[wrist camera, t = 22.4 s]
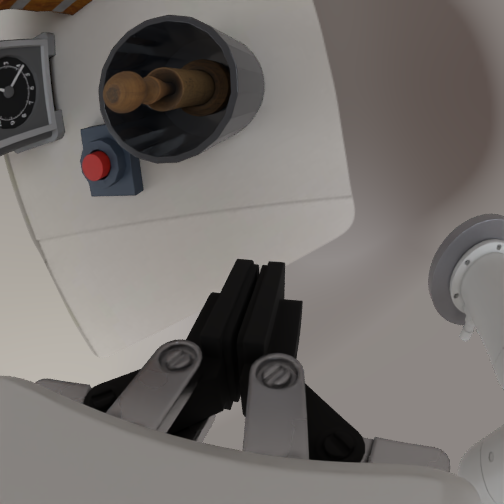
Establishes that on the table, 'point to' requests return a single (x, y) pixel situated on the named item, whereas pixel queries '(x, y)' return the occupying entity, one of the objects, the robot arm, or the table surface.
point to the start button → (96, 165)
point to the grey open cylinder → (176, 120)
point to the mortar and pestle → (172, 89)
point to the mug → (45, 5)
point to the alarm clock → (27, 95)
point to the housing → (122, 164)
